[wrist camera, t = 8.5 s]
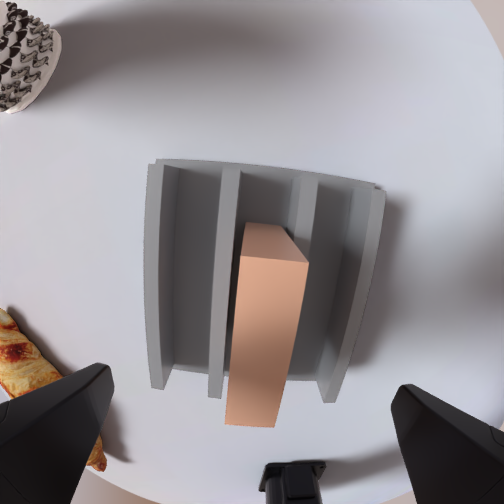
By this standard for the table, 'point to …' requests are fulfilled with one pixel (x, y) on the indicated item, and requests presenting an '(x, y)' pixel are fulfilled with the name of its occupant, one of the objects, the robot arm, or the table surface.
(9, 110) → the black-white patterned cylinder
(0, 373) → the croissant
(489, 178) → the table surface
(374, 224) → the dish rack
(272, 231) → the terracotta plate
